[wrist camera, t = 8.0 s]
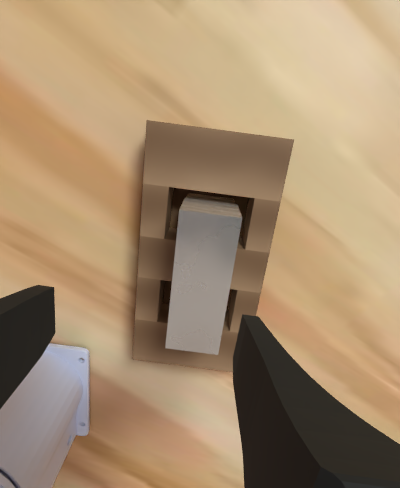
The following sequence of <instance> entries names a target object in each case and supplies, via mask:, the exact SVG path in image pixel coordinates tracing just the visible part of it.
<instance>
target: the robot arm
mask: <svg viewBox="0 0 400 488" xmlns="http://www.w3.org/2000/svg"><path fill="white" fill-rule="evenodd" d="M54 334H55V304H54V287H48V286H41V285H37V286H33V287H30V288H27V289H24V290H22V291H19V292H16V293H14V294H11V295H9V296H6V297H3V298H1V299H0V488H52V486H53V484H54V482H55V480H56V478H57V475H58V473H59V471H60V469H61V467H62V465H63V462H64V460H65V458H66V456H67V454H68V452H69V449H70V447H71V445H72V443H73V441H74V438H75V436H76V435H79V436H86V435H87V434H88V432H89V351H88V350H87V349H86V348H82V347H75V346H67V345H59V344H52V343H50V341H51V339H52V338H53V336H54ZM81 358H83V359H84V360H83V359H81ZM233 385H234V392H235V400H236V407H237V414H238V421H239V428H240V435H241V442H242V451H243V465H244V486H245V488H400V444H398V443H397V442H395V441H394V440H392V439H391V438H389V437H388V436H386V435H385V434H383V433H382V432H380V431H379V430H377V429H376V428H374V427H373V426H371V425H370V424H368V423H367V422H365V421H364V420H363V419H361V418H360V417H358V416H357V415H356V414H354V413H353V412H352V411H350V410H349V409H348V408H347V407H345V406H344V405H343V404H341V403H340V402H339V401H338V400H336V399H335V398H334V397H333V396H332V395H330V394H329V393H328V392H327V391H326V390H325V389H323V388H322V387H321V386H320V385H319V384H318V383H317V382H316V381H315V380H313V379H312V378H311V377H310V376H309V375H308V374H307V373H306V372H305V371H304V370H303V369H302V368H301V367H300V366H299V365H298V363H297V362H296V361H295V360H294V359H293V358H292V357H291V356H290V355H289V354H288V353H287V351H286V350H285V349H284V348H283V347H282V346H281V344H280V343H279V342H278V341H277V340H276V338H275V337H274V336H273V335H272V333H271V332H270V331H269V330H268V328H267V327H266V326H265V324H264V323H263V322H262V321H261V319H260V318H259V317H258V316H251V315H244V314H242V318H241V322H240V327H239V331H238V336H237V341H236V345H235V350H234V354H233Z"/></svg>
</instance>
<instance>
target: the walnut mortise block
mask: <svg viewBox="0 0 400 488" xmlns="http://www.w3.org/2000/svg"><path fill="white" fill-rule="evenodd" d="M293 142H294V140H292V139H285V138H277V137H270V136H262V135H255V134H247V133H239V132H232V131H224V130H217V129H209V128H202V127H194V126H186V125H179V124H171V123H164V122H156V121H149V120H147V124H146V140H145V157H144V174H143V191H142V208H141V225H140V242H139V259H138V276H137V293H136V310H135V326H134V343H133V359H134V360H142V361H149V362H157V363H165V364H173V365H180V366H188V367H196V368H203V369H211V370H219V371H226V372H233V354H234V350H235V345H236V341H237V336H238V331H239V327H240V322H241V318H242V314H244V315H251V316H256V312H257V307H258V303H259V298H260V294H261V289H262V284H263V280H264V275H265V271H266V266H267V262H268V257H269V252H270V248H271V243H272V239H273V234H274V229H275V225H276V220H277V216H278V211H279V206H280V202H281V197H282V193H283V188H284V184H285V179H286V174H287V170H288V165H289V161H290V156H291V151H292V147H293ZM173 188H181V189H188V190H196V191H204V192H211V193H219V194H226V195H234V196H242V197H249V198H248V204H247V209H246V215H245V220H244V226H243V231H242V237H239V240H238V245H237V251H236V257H235V262H234V268H233V274H232V279H231V285H230V289H232V292H231V298H230V303H229V309H228V311H226V313H225V319H224V325H223V330H222V336H221V342H220V347H219V353H218V355H214V354H206V353H199V352H191V351H183V350H175V349H168V348H165V345H166V335H167V325H168V316H169V306H170V304H168V303H163V294H164V283H165V281H172V276H173V267H174V257H175V247H176V237H177V228H170V219H171V209H172V198H173Z"/></svg>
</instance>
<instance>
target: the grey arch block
mask: <svg viewBox="0 0 400 488" xmlns="http://www.w3.org/2000/svg"><path fill="white" fill-rule="evenodd" d="M241 223H242V216H241V213H240V210H239V207H238V205H237V204H235V202H234V199H232V198H225V197H217V196H209V195H202V194H194V193H188V195H187V197H186V198H185V199H184V201H183V203H182V205H181V207H180V209H179V218H178V227H177V237H176V247H175V257H174V267H173V276H172V286H171V296H170V306H169V316H168V325H167V335H166V345H165V348H168V349H175V350H183V351H191V352H199V353H206V354H214V355H218V353H219V347H220V342H221V336H222V330H223V325H224V319H225V313H226V308H227V302H228V296H229V291H230V285H231V279H232V274H233V268H234V262H235V257H236V251H237V245H238V240H239V234H240V228H241Z"/></svg>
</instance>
